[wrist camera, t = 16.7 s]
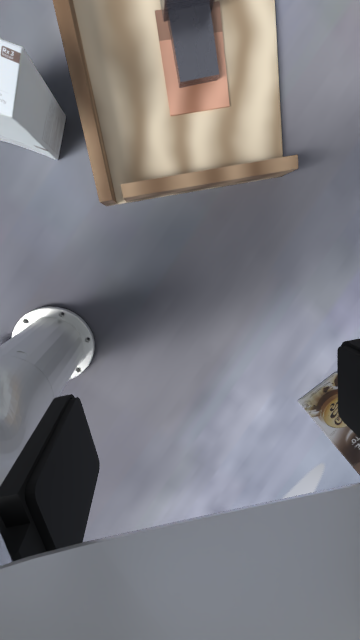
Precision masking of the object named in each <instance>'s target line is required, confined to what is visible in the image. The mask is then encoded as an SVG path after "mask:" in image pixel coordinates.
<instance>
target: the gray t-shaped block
mask: <svg viewBox="0 0 360 640" xmlns="http://www.w3.org/2000/svg"><path fill="white" fill-rule="evenodd" d="M160 4H161V10H162V15H163V21H164V22H165V21H168V26H169V32H170V37H171V43H172V49H173V55H174V60H175V66H176V72H177V78H178V83H179V88H183V87H188V86H193V85H197V84H202V83H207V82H212V81H217V79H218V76H219V68H218V61H217V53H216V46H215V39H214V31H213V24H212V17H211V12H212V8H213V4H214V0H160Z"/></svg>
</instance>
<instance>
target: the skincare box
mask: <svg viewBox="0 0 360 640" xmlns="http://www.w3.org/2000/svg"><path fill="white" fill-rule="evenodd" d="M65 121H66V115H65V114H64V112H63V110H62V109H61V107H60V106H59V104H58V102H57V101H56V99H55V98H54V96H53V94H52V93H51V91H50V90H49V88H48V86H47V85H46V83H45V82H44V80H43V78H42V77H41V75H40V74H39V72H38V70H37V69H36V67H35V66H34V64H33V62H32V61H31V59H30V57H29V56H28V54H27V53H26V51H25V49H24V48H23V47H22V46H19V45H17V44H14V43H12V42H9V41H6V40H4V39H1V38H0V141H4V142H8V143H11V144H15V145H18V146H21V147H24V148H27V149H30V150H32V151H35V152H38V153H40V154H43V155H45V156H48V157H50V158H52V159H55V160H58V158H59V153H60V147H61V142H62V137H63V131H64V126H65Z"/></svg>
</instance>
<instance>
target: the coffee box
mask: <svg viewBox="0 0 360 640" xmlns="http://www.w3.org/2000/svg"><path fill="white" fill-rule="evenodd" d="M298 402H299V404H300V405H301V406H302V407H303V408H304V409H305V411H306V412H307V413H308V414H309V415H310V417H311V418H312V419H313V420H314V421H315V422H316V424H317V425H318V426H319V427H320V428H321V430H322V431H323V432H324V433H325V434H326V436H327V437H328V438H329V439H330V440H331V442H332V443H333V444H334V445H335V446H336V448H337V449H338V450H339V451H340V452H341V454H342V455H343V456H344V457H345V458H346V460H347V461H348V462H349V463H350V464H351V466H352V467H353V468H354V469H355V470H356V471H357V473H358V474H359V475H360V438H359V437H358V436H357V435H356V434H355V433H354V432H353V431H352V430H351V429H350V428H349V427H348V426H347V425H346V424H345V423H344V422H343V421H342V420H341V418H340V416H339V414H338V373H337V372H335V373H334V374H332V375H331V376H330V377H328V378H327V379H326V380H324V381H323V382H322V383H320V384H319V385H318V386H316V387H315V388H314V389H313V390H311V391H310V392H309V393H307V394H306V395H305V396H303V397H302V398H301V399H299V400H298Z"/></svg>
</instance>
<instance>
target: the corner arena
mask: <svg viewBox="0 0 360 640" xmlns="http://www.w3.org/2000/svg"><path fill="white" fill-rule="evenodd" d="M53 4H54V8H55V12H56V16H57V21H58V25H59V29H60V34H61V38H62V42H63V47H64V51H65V55H66V59H67V64H68V68H69V72H70V77H71V81H72V85H73V89H74V94H75V98H76V102H77V107H78V111H79V115H80V120H81V124H82V128H83V132H84V137H85V141H86V145H87V150H88V154H89V158H90V163H91V167H92V171H93V175H94V180H95V184H96V188H97V193H98V197H99V201H100V203H102V204H104V205H105V206H111V205H117V204H123V203H129V202H135V201H141V200H147V199H153V198H158V197H164V196H170V195H176V194H182V193H188V192H194V191H200V190H206V189H211V188H217V187H223V186H229V185H235V184H241V183H247V182H253V181H258V180H264V179H270V178H276V177H282V176H284V175H285V174H287V173H289V172H292V171H294V170H296V169H298V155H293V156H287V157H283V152H282V133H281V114H280V94H279V75H278V56H277V37H276V17H275V0H214V4H213V8H212V12H211V17H212V24H213V31H214V39H215V46H216V53H217V61H218V68H219V76H218V79H217V81H212V82H207V83H202V84H197V85H193V86H188V87H183V88H179V83H178V78H177V72H176V66H175V60H174V55H173V49H172V43H171V37H170V32H169V26H168V21H165V22H164V21H163V15H162V10H161V4H160V0H53Z"/></svg>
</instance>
